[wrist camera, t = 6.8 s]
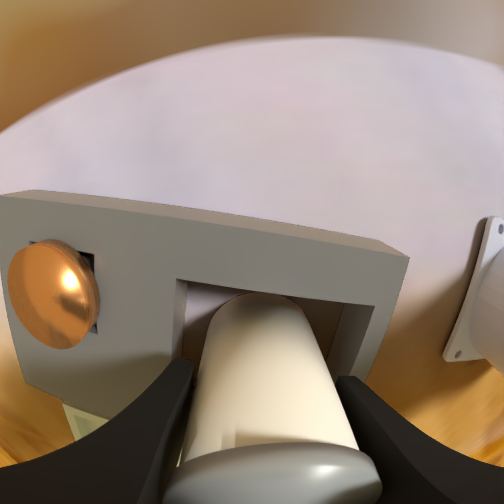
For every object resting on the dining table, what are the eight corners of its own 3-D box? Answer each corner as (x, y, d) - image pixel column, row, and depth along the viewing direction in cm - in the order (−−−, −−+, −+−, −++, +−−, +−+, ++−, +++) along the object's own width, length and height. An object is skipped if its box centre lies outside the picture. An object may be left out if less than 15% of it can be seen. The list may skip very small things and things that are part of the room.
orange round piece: (129, 232, 10) (84, 256, 7) (126, 315, 11) (92, 361, 8) (57, 220, 10) (3, 238, 7) (59, 297, 11) (16, 333, 8)
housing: (379, 240, 11) (409, 257, 9) (321, 409, 13) (332, 444, 11) (34, 189, 10) (-3, 195, 8) (48, 357, 12) (25, 383, 10)
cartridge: (328, 295, 11) (422, 452, 4) (300, 386, 13) (334, 536, 5) (208, 279, 11) (154, 452, 3) (198, 374, 12) (167, 533, 5)
